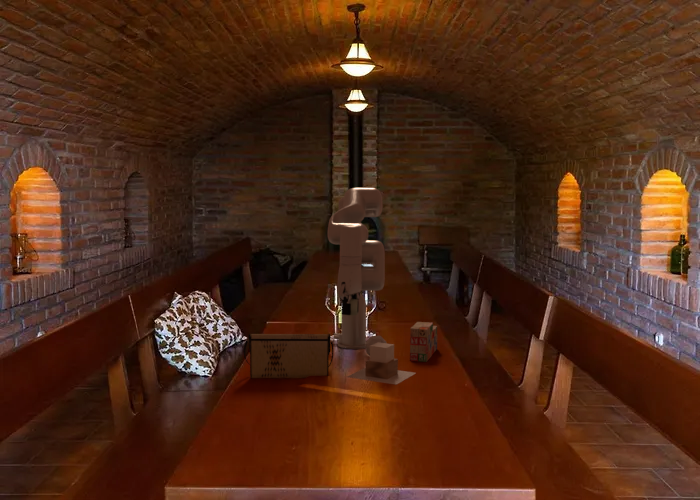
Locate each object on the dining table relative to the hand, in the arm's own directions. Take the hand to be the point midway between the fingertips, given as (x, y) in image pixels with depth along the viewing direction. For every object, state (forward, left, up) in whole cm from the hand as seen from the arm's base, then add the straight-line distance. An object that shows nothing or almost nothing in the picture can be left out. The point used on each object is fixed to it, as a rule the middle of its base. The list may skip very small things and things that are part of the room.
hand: (350, 312), depth 256 cm
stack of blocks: (+15, +31, -20) cm, 40 cm away
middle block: (+16, -7, -13) cm, 22 cm away
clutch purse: (-12, -20, -20) cm, 31 cm away
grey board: (+16, -7, -19) cm, 26 cm away
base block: (+16, -7, -18) cm, 25 cm away
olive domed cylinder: (0, 0, -1) cm, 1 cm away
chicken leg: (+4, +14, -20) cm, 25 cm away
